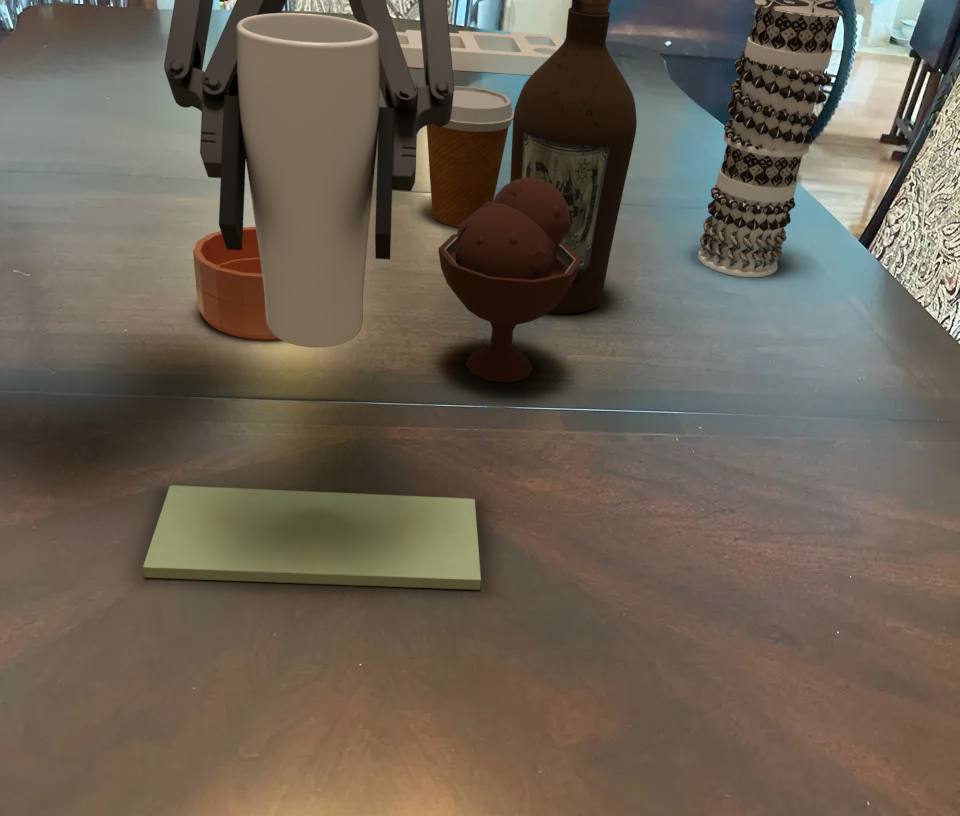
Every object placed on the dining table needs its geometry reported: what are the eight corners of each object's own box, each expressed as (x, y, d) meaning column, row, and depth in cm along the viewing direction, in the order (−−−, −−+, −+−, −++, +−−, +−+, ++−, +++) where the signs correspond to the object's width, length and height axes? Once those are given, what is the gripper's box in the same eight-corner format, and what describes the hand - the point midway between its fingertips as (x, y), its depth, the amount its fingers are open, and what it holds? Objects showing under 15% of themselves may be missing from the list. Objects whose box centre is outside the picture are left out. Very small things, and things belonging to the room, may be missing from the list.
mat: (144, 577, 62) (142, 567, 62) (171, 495, 69) (169, 484, 69) (480, 590, 64) (481, 579, 63) (473, 508, 71) (474, 498, 70)
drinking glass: (343, 368, 56) (342, 51, 46) (230, 340, 57) (205, 27, 47) (394, 321, 61) (403, 27, 51) (289, 297, 62) (278, 5, 52)
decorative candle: (684, 266, 109) (743, -14, 93) (703, 239, 115) (761, -26, 99) (772, 285, 107) (848, 2, 90) (786, 257, 113) (859, -12, 97)
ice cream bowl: (481, 327, 93) (496, 148, 83) (588, 368, 89) (617, 183, 79) (406, 366, 86) (414, 175, 77) (519, 411, 82) (542, 215, 72)
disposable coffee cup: (488, 239, 110) (499, 115, 102) (404, 222, 112) (408, 99, 104) (515, 212, 117) (527, 95, 109) (435, 197, 119) (441, 80, 111)
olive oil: (509, 266, 105) (539, -27, 89) (614, 283, 104) (663, -11, 87) (486, 306, 97) (514, -8, 81) (599, 325, 95) (650, 11, 79)
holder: (293, 59, 163) (293, 39, 161) (296, 34, 177) (295, 16, 175) (577, 78, 169) (579, 59, 167) (558, 52, 183) (560, 35, 181)
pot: (190, 337, 87) (183, 271, 83) (210, 284, 95) (205, 222, 92) (326, 344, 88) (325, 280, 84) (334, 291, 96) (333, 231, 93)
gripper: (106, -280, 49) (81, 191, 48) (522, -236, 51) (513, 219, 49) (142, -148, 57) (122, 263, 55) (504, -114, 59) (496, 285, 57)
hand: (307, 241), depth 52 cm, fingers closed on drinking glass, 7 cm apart
